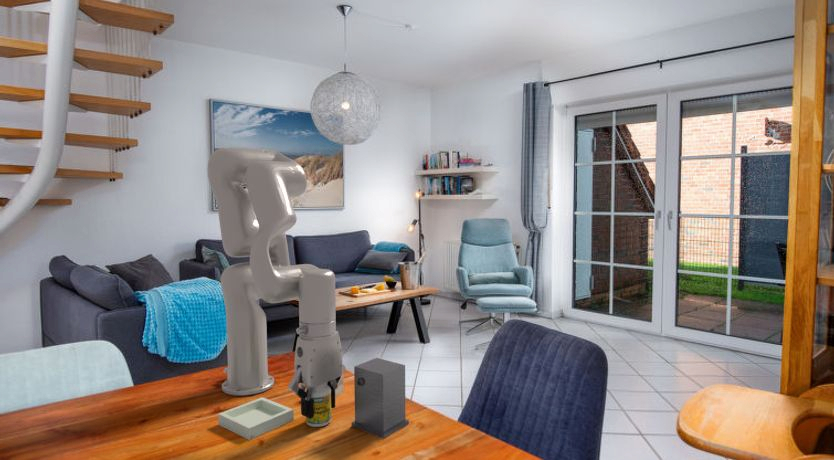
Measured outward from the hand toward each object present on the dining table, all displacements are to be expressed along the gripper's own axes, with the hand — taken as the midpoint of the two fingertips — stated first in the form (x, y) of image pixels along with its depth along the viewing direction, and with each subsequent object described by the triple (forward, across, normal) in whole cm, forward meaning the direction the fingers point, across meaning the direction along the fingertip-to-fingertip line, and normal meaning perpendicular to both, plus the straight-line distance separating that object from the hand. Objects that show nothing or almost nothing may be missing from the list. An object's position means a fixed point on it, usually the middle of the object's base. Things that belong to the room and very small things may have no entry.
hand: (318, 410), depth 108 cm
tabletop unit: (+2, +7, -11) cm, 14 cm away
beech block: (+3, +12, +10) cm, 16 cm away
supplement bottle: (+3, 0, 0) cm, 3 cm away
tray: (+3, -8, +11) cm, 14 cm away
